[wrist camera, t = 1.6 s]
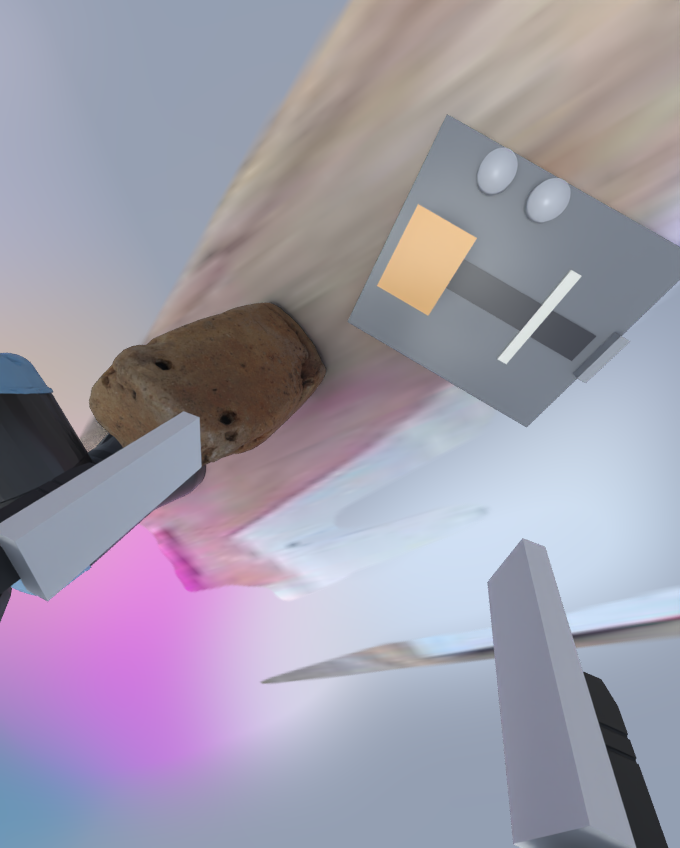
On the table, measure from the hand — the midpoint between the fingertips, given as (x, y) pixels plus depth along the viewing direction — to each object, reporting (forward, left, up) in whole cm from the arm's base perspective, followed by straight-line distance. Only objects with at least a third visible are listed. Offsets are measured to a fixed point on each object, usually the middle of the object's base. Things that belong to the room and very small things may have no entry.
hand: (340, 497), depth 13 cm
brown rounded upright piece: (-11, -8, -24) cm, 27 cm away
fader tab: (-2, +7, -21) cm, 22 cm away
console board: (+4, +7, -23) cm, 25 cm away
